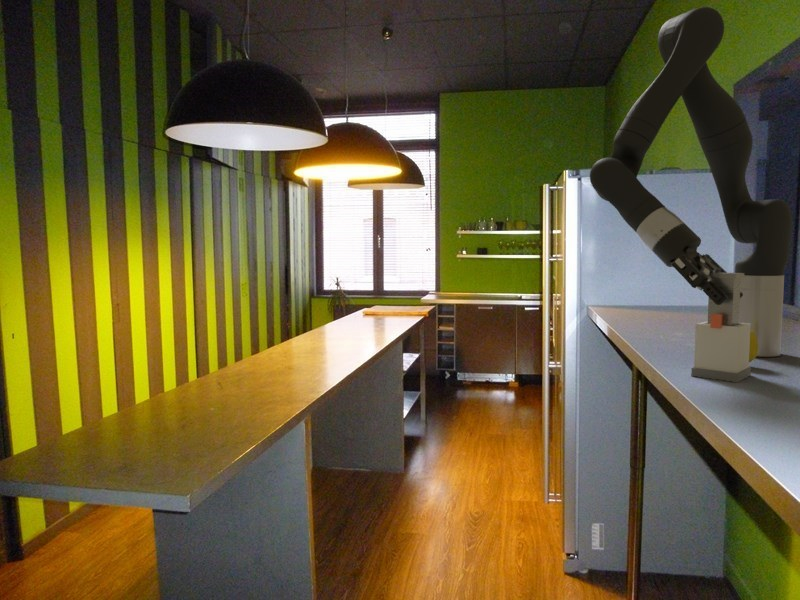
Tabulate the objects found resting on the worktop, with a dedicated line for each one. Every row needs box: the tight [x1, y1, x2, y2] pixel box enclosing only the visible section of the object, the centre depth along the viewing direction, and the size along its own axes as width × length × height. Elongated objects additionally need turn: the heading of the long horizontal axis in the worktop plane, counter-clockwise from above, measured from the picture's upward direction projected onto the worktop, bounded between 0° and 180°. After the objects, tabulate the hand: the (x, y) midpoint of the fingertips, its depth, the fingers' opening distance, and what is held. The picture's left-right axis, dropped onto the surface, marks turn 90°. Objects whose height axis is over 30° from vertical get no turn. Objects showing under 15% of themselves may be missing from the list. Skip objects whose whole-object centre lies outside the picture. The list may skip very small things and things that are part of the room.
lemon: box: [749, 330, 758, 363], centre depth 117 cm, size 6×6×8 cm
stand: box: [691, 314, 752, 383], centre depth 108 cm, size 8×8×12 cm
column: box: [707, 272, 744, 326], centre depth 108 cm, size 5×5×17 cm
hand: (731, 300), depth 107 cm, fingers open, 8 cm apart
